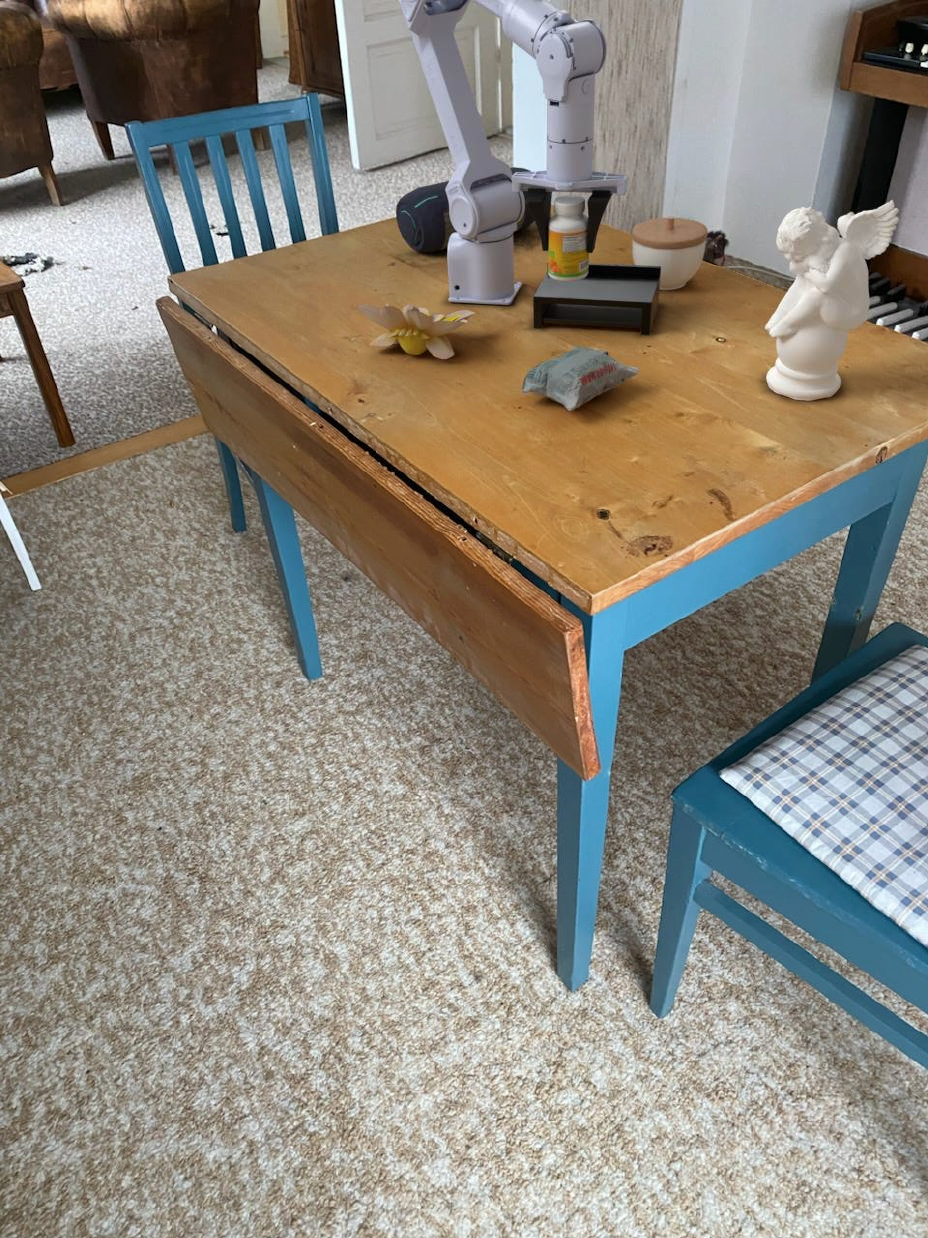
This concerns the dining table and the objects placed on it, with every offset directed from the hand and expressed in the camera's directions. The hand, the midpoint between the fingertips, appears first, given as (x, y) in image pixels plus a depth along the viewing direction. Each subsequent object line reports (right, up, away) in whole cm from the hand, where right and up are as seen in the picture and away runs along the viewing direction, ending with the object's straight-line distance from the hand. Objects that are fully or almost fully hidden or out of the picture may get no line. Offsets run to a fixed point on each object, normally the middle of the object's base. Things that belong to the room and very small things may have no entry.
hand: (568, 249), depth 126 cm
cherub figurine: (+29, -20, -10) cm, 36 cm away
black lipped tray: (+5, -6, +8) cm, 11 cm away
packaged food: (0, -22, -10) cm, 24 cm away
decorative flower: (-19, -13, +3) cm, 23 cm away
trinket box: (+16, +1, +16) cm, 23 cm away
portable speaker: (-12, +15, +36) cm, 41 cm away
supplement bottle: (0, -3, +2) cm, 4 cm away
